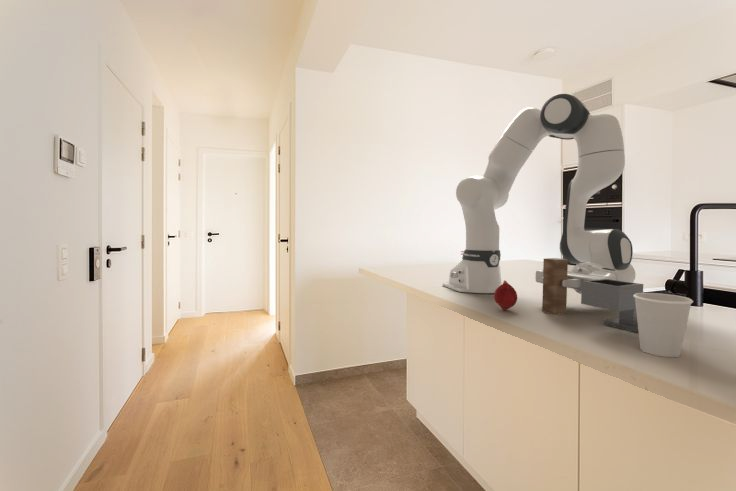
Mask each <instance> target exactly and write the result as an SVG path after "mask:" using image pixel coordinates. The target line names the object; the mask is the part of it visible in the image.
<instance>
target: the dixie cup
mask: <svg viewBox="0 0 736 491" xmlns="http://www.w3.org/2000/svg"><path fill="white" fill-rule="evenodd" d="M633 297H634V298H635V304H636V313H637V322H638V332H639V333H638V339H639V348H640V350H641V352H644V353H647V354H650V355H653V356H658V357H664V358H678V357H680V356H681V353H682V349H683V343H684V339H685V334H686V329H687V325H688V320H689V315H690V311H691V307H692V306H691V305H692V304H693V303H694V300H693V299H691V298H690V297H686V296H682V295H675V294H670V293H661V292H660V293H657V292H643V293H636V294H634V295H633Z"/></svg>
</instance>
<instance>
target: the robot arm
mask: <svg viewBox="0 0 736 491" xmlns="http://www.w3.org/2000/svg"><path fill="white" fill-rule="evenodd" d="M547 136H548V137H550V138H553V139H554V138H556V139H560V140H566V141H568V140H574V141H575V143H576V146H577V154H578V155H577V156H578V157H577V159H578V160H577V161H578V163H577V164H578V165H577V168H576V172H575V175H574V177H573V178H572V179H571V180H570V182H569V184H568V187H567V191H566V192H567V193H566V200H565V210H564V218H563V219H564V220H563V228H562V230H563V231H562V234H561V237H560V242H559V252H560V254H561V255H562V256H563V259H568V263H570V264H572V265H573V264H574V266H573V267H572V268H571V270H567V280H566V279H561V280H560V284H559V285H560V286H561V287H567V289H573V290H574V291H575V292H576V293H577V294H579V295H581V290H582V281H589V280H600V279H609V280H617V281H624V282H631V283H635V280H636V270H635V268H634V266H633V265H632V259H633V253H634V252H633V244H632V241H631V240H630V238H629V236H627V234H626V233H625V232H623V231H622V230H620V229H619V228H614V229H613V228H611V229H595V230H585V221H586V212H587V211H586V210H587V205H588V204H587V203H588V201H589V200H590V198H592V197H593V196H594V195H596V193H598V192H600V191H601V190H602V189H605V188H607V187H609V186H610V185H612V184H613V183H615V182H616V180H618V179H619V177H620V176H621V175H622V174H623V172H624V170H625V164H626V162H625V161H626V157H625V144H624V137H623V132H622V128H621V125H620V122H619V120H618V118H617V117H616V116H614V115H612V114H607V113H602V114H595V115H594V114H593V115H592V114H591V113H590V111H589V109H588V107H587V106H586V104H585V103H584V102H583V101H581V100H579V99H578V98H577V97H576V96H574V95H572V94H569V93H558V94H555V95H553V96H551V97H550V98H548V99H547V100H546V101H545V103H543V105H542V107H541V109H538V108H536V107H526V108H523V109H522V110H520V111H519V112H518V113H517V115H515V117H514V118H513V119H512V121H511V122H510V123H509V124H508V126H507V127H506V128H505V129H504V131H503V133H502V135H501V136H500V138H499V139H498V140H497V142H496V143H495V144H494V146H493V148H492V150H491V151H490V153H489V156H488V163H487V167H486V168H485V171H484V173H483V175H482V176H480V175H473V176H472V175H471V176H468V177H466V178H463V179H462V180H461V181H460V182H459V183H458V184H457V186H456V188H455V196H456V199H457V201H458V202H459V204H460V206H461V209H462V214H463V220H464V223H465V249H464V250H462V251H460V255H462V258H461V259H462V260H460V262H458V263H457V264H456V265H455V266H453V267H452V268H451V269H450V272H449V278H448V279H449V280H448V281H446V282H443V283H442V286H443V287H446V288H449V289H451V290H454V291H457V292H460V293H475V294H495V291H496V289H497V288H498V287H499V286H500V285H502V284H503V282H502V272H501V266H500V261H501V256H502V254H501V250H500V226H499V223H498V221H497V218H496V214H495V213H496V212H495V210H498V209H500V208H502V207H504V206H505V205H506V203H507V202H508V200H509V195H510V194H509V193H510V191H511V189H512V187H513V184H514V183H515V180H516V178H517V176H518V174H519V173H520V170H521V169H522V168H523V166H524V165H525V163H526V162H527V160H529V158H530V156H531V155H532V153H533V152H534V150H535V149H536V147H537V146H538V145H539V143H540V142H541V141H542V140H543V139H544V138H546V137H547ZM575 264H576V265H575ZM535 282H536V283H539V284H543V269H537V270H536V271H535Z"/></svg>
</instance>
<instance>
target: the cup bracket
mask: <svg viewBox="0 0 736 491" xmlns="http://www.w3.org/2000/svg"><path fill="white" fill-rule="evenodd" d="M636 293H644V284H643V283H638V282H633V283H631V282H624V281H617V280H609V279H600V280H589V281H582V290H581V294H580V298H581V299H580V304H581V305H585V306H591V307H595V308H600V309H606V310H609V311H614V312H619V314H618V317H612V318H608V319H603V325H605V326H609V327H614V328H618V329H621V330H626V331H630V332H633V333H638V334H639V332H638V322H637V313H636V304H635V298H634V297H633V295H634V294H636Z"/></svg>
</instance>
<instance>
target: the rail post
mask: <svg viewBox="0 0 736 491" xmlns="http://www.w3.org/2000/svg"><path fill="white" fill-rule="evenodd" d="M542 264H543V269H542V270H543V283H542V302H541V303H542V304H541V307H542V308H541V309H542V310H541V311H542V312H544V313H547V314H552V315H563V314H566V313H567V298H568V294H567V293H568V290H567V289H568V288H567V287H561V286H560V285H559V284H560V280H561V279H566V280H567V271H569V270H568V268H569V267H568V265H569V262H568V259H565V258H557V257H556V258H555V257H552V258H551V257H549V258H548V257H547V258H543V263H542Z"/></svg>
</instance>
